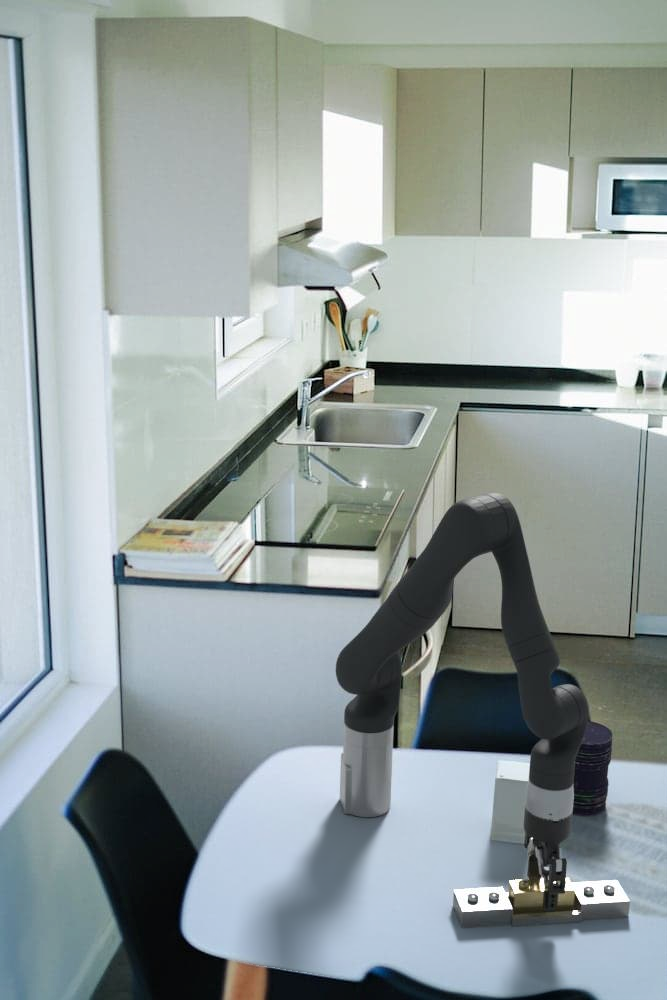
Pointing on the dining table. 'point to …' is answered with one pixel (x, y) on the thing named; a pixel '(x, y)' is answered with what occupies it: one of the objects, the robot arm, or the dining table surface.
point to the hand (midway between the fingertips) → (541, 893)
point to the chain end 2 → (594, 903)
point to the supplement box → (509, 801)
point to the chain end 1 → (490, 909)
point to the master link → (537, 896)
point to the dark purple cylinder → (592, 771)
